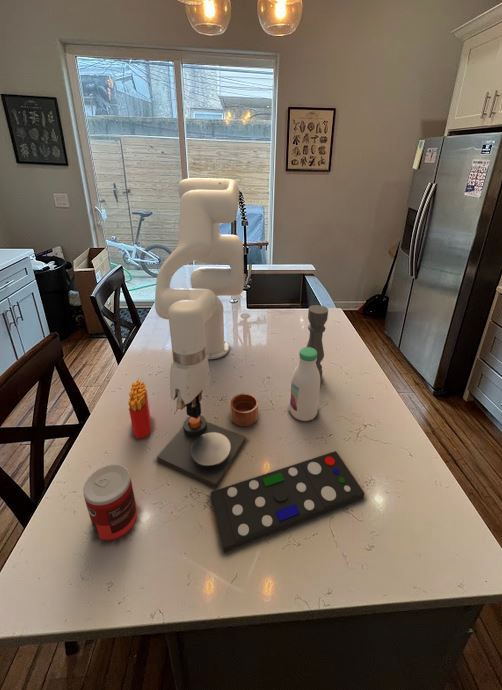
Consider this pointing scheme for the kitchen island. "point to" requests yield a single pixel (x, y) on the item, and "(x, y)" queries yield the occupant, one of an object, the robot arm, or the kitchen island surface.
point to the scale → (180, 452)
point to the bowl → (244, 409)
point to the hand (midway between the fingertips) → (194, 414)
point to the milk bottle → (305, 386)
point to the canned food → (110, 502)
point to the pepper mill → (317, 332)
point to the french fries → (139, 410)
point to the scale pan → (210, 449)
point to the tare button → (194, 422)
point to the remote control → (282, 499)
